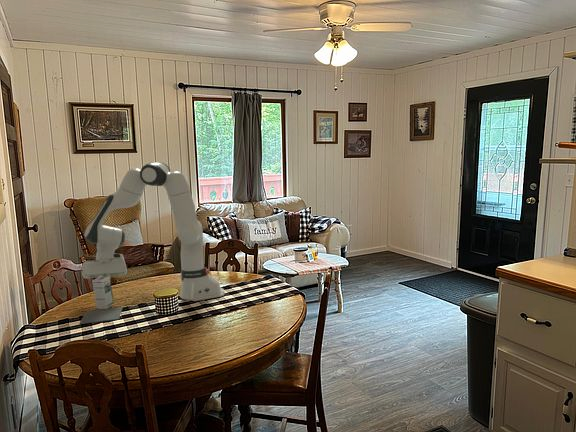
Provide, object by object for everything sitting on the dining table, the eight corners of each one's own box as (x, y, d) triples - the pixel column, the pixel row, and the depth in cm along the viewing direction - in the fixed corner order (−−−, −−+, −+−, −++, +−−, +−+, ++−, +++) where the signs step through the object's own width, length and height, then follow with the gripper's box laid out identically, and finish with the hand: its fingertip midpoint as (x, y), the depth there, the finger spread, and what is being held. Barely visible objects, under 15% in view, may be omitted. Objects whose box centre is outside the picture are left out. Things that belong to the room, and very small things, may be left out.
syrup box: (107, 309, 201) (102, 280, 198) (96, 308, 202) (91, 280, 199) (114, 304, 207) (110, 275, 203) (103, 303, 208) (99, 275, 205)
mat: (122, 307, 203) (122, 306, 203) (119, 319, 188) (119, 318, 188) (86, 311, 199) (85, 311, 199) (79, 324, 183) (79, 323, 183)
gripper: (81, 257, 209) (79, 282, 201) (125, 254, 215) (125, 278, 207) (84, 264, 214) (82, 288, 206) (127, 260, 219) (127, 284, 211)
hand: (104, 283), depth 206 cm, fingers closed
